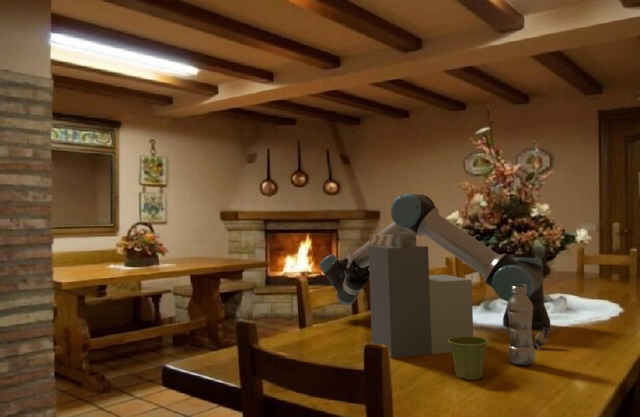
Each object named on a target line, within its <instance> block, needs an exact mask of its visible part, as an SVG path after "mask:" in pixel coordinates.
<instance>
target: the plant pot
mask: <svg viewBox="0 0 640 417" xmlns="http://www.w3.org/2000/svg"><path fill="white" fill-rule="evenodd" d="M448 342H449V343H450V348H451V349H452V352H451V353H452V359H453V364H454V369H455V376H456V377H457V378H458V379H465V380H467V381H476V380H479V379H481V378H483V377H484V369H485V368H484V367H485V357H486V350H487V346H488V344H489V340H488V339H487V338H484V337H480V336H478V337H477V336H473V337H468V336H464V337H453V338H450V339H448Z"/></svg>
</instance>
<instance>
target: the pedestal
mask: <svg viewBox="0 0 640 417" xmlns="http://www.w3.org/2000/svg"><path fill="white" fill-rule="evenodd" d="M429 265H430V262H429V246H426V245H425V246H424V245H418V244H416V247H408V248H396V247H392V246H383V245H382V246H369V265H368V266H369V269H368V270H369V273H370V277H369V293H370V294H369V296H370V299H369V300H370V327H371V331H370V332H371V344H372V343H374V344H384V345H387V346H388V347H389V352H390V357H389V359H397V358H398V359H399V358H407V357H408V358H409V357H410V358H411V357H417V356H429V355H439V354H449V353H450V354H451V353H452V349H451V348H450V343H449V342H448V339H450V338H453V337H464V336H468V337H474V313H473V311H474V310H473V289H472V288H473V287H472V279H469V278H465V277H459V276H454V275H449V274H432V275H430V266H429Z"/></svg>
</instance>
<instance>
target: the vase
mask: <svg viewBox="0 0 640 417" xmlns="http://www.w3.org/2000/svg"><path fill="white" fill-rule="evenodd" d="M551 332H552V329H551V328H545V327H543V329H542V331H541V332H538V333H536V335H535V337H534V341H535V343H533V346H534V349H536V350H537V351H543V349H542V348H543V346H545V345H546V344H547V343H548V342H549V335H550V333H551Z"/></svg>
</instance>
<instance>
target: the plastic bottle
mask: <svg viewBox="0 0 640 417" xmlns="http://www.w3.org/2000/svg"><path fill="white" fill-rule="evenodd" d="M511 292H512V293H513V295H512V297H511V298H510V300H509V301H507V303H508V304H506V307H507V310H508V317H509V324H510V328H509V346H508V359H509V361H510V362H511V363H512V364H515V365H519V366H529V365H530V366H531V365H532V364H533V363H534V362H535V359H536V353H535V348H534V346H533V344H534V341H533V330H532V329H531V328H532V315H533V305H532V303H531V301H530V300H529V298H528V297H527V296H526V293H527V287H526V285H512V291H511Z"/></svg>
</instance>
